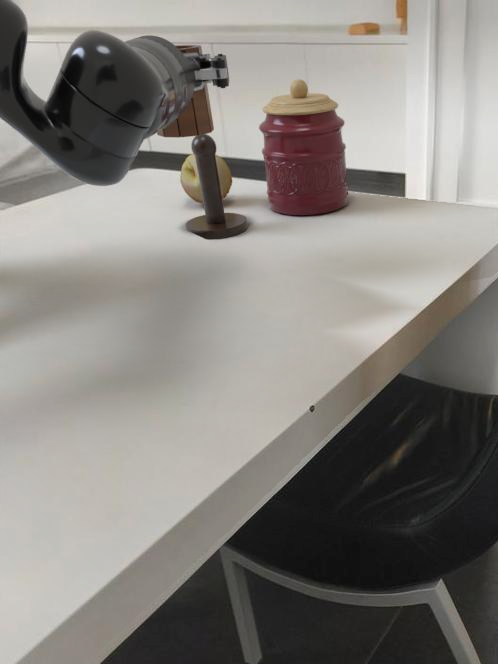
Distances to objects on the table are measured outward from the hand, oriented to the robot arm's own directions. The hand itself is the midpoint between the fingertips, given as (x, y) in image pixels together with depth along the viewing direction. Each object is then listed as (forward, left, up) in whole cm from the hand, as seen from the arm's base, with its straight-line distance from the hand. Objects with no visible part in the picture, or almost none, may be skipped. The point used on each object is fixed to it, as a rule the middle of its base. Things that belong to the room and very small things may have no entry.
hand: (178, 66), depth 79 cm
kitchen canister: (+23, +11, -22) cm, 34 cm away
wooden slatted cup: (-1, -2, -6) cm, 7 cm away
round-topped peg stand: (+6, +10, -22) cm, 25 cm away
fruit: (+12, +24, -22) cm, 35 cm away
